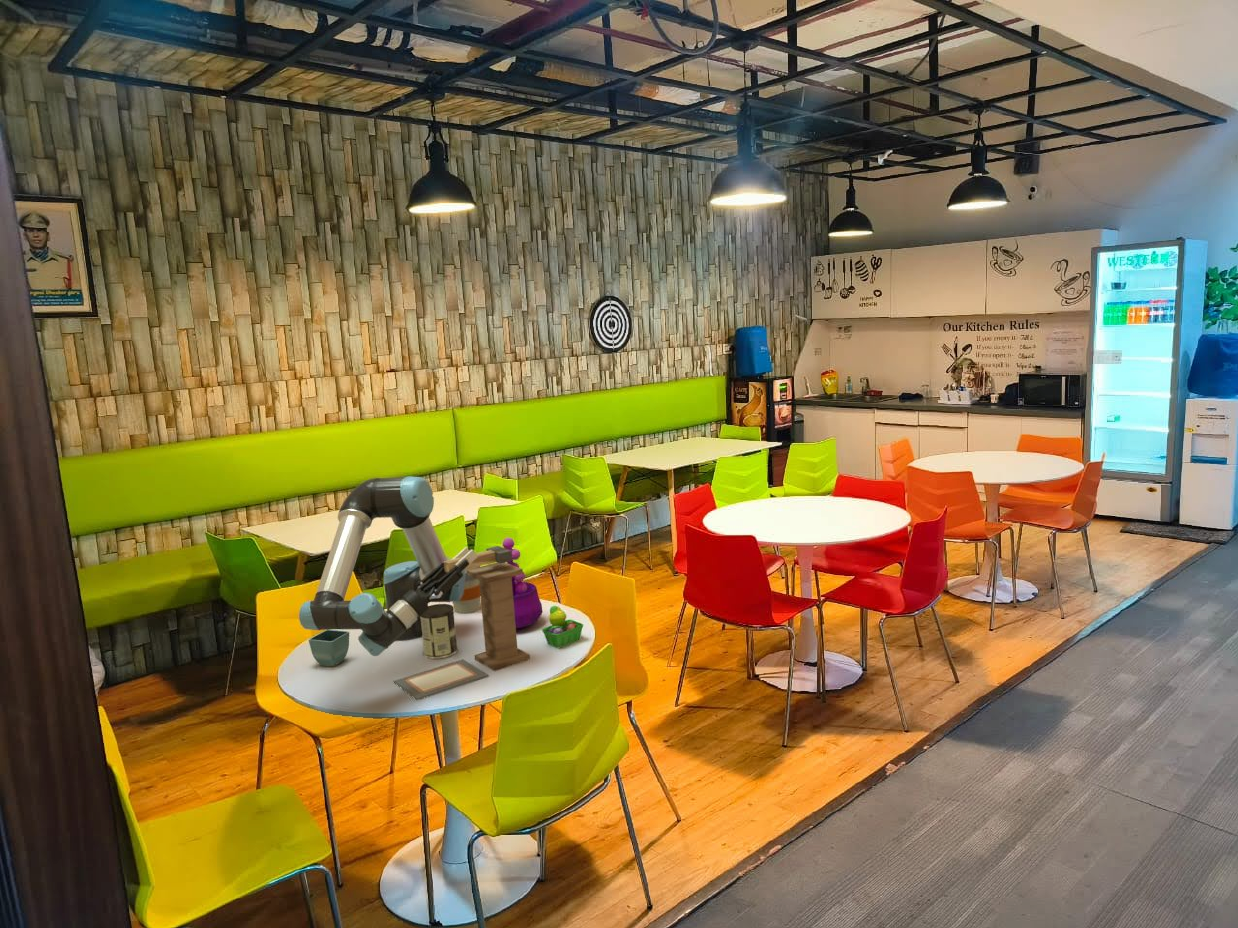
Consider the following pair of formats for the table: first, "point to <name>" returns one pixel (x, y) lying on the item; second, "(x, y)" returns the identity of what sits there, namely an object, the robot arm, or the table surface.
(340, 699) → the table surface
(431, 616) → the coffee can
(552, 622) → the fruit basket
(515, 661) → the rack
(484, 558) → the wooden handled hammer
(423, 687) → the pad
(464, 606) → the reusable coffee cup
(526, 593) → the decorative plant
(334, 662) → the flower pot
